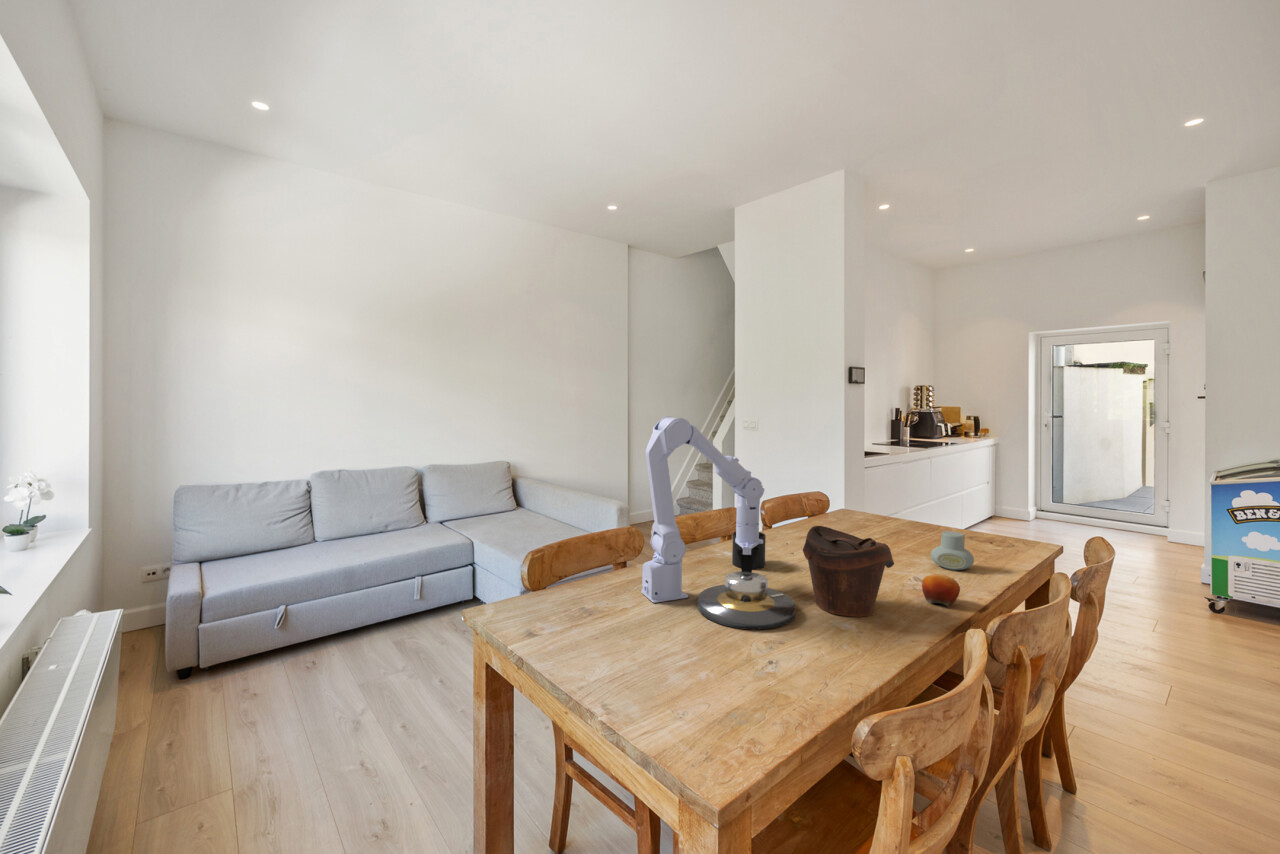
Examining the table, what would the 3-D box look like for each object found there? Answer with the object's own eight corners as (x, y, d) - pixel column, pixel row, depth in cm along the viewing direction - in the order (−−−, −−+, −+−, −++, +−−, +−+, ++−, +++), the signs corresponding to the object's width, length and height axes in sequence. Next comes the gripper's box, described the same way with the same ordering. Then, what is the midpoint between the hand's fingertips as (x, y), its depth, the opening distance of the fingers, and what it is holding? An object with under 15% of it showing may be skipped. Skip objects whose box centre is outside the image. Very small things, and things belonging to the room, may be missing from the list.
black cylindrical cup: (776, 563, 160) (776, 533, 160) (752, 571, 152) (753, 540, 151) (749, 556, 167) (750, 527, 167) (725, 564, 159) (726, 533, 158)
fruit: (921, 601, 127) (922, 568, 130) (921, 608, 133) (922, 576, 136) (961, 608, 123) (961, 573, 126) (958, 615, 129) (959, 581, 132)
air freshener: (973, 566, 158) (975, 533, 157) (973, 574, 151) (974, 539, 150) (931, 560, 164) (932, 528, 163) (929, 567, 157) (930, 533, 156)
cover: (739, 602, 123) (740, 585, 123) (717, 588, 132) (717, 572, 132) (776, 596, 127) (776, 580, 127) (751, 583, 136) (752, 567, 136)
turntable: (730, 636, 110) (730, 626, 110) (681, 598, 131) (681, 590, 131) (816, 620, 119) (816, 610, 119) (758, 587, 139) (758, 579, 139)
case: (902, 626, 116) (904, 543, 115) (805, 618, 120) (806, 538, 119) (882, 597, 134) (883, 525, 133) (798, 591, 138) (799, 522, 137)
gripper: (764, 530, 130) (763, 585, 131) (763, 517, 145) (761, 566, 145) (734, 528, 132) (733, 583, 133) (736, 515, 146) (735, 565, 147)
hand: (746, 574), depth 139 cm, fingers closed
